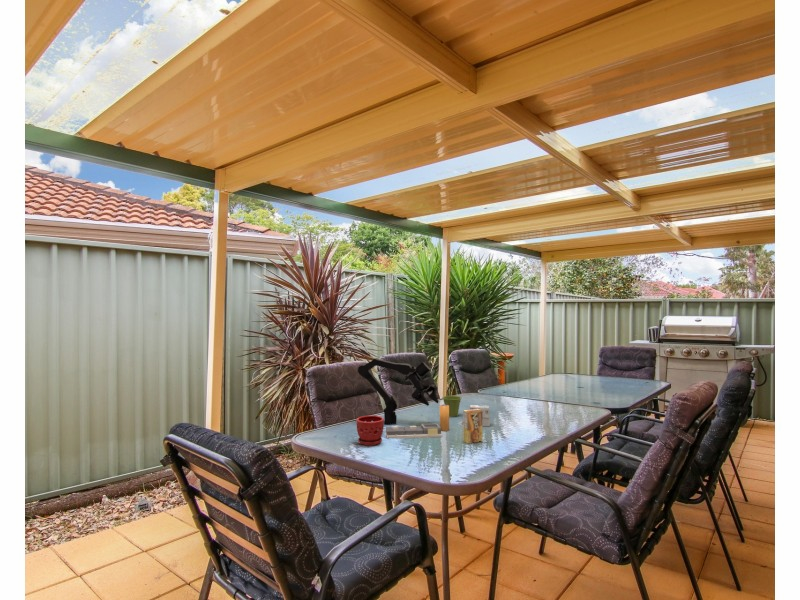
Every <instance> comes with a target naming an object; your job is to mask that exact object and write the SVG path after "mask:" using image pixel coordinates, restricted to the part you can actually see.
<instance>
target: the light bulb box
mask: <svg viewBox="0 0 800 600" xmlns="http://www.w3.org/2000/svg"><path fill="white" fill-rule="evenodd" d="M471 409H480V410H482V427H490V425H491V424H490V423H491V422H490V406H489V404H488V405H485V404H484V405H483V404H482V405H481V404H478V405H477V404H476V405H475V404H470V405H469V410H471Z"/></svg>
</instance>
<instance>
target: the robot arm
mask: <svg viewBox="0 0 800 600" xmlns="http://www.w3.org/2000/svg"><path fill="white" fill-rule="evenodd" d="M376 366H377V367H380V368H381V367H382V368H385V369H388V370H393V371H396V372H398V373H400V374H402V375H404V376H405V378H404V381H405V382H410V383H411V384H412V388H413V389H414V391H412V393H411V394H410V397H411V399H412V400H415V401H418V402H420V403H422V404H424V405H425V406H427V407H428V406H430V404H429V402H428V399H427V398H426V396H425V394H426V395H427V396H428V398H430V399H431V400H432V401H433V402H435V404H439V403H440V402H439V399H438V396H437V390H438V387H437V386H436V385H434V384H435V379H434V378H433V377H432V376H431V377H428V378H427V379H422V378H421V377H425V376H426V375H428V373H430V372H431V371H432V370H431V368H430V366H428V364H426V363H425V362H424V361H422V362H421V363H420V364H419V365H418V366H417V367H416V366H412V365H411V364H410V363H398V362H397V363H396V362H393V361H389V360H385V359H380V358H377V357H376V358H373V359H371V360H370V361H369V362H367V363H364V364H361V365H360V366H358V367H357V373H358V375H359V376H361V377H362V378H363V379H365V380H367V382H368V383H369V384H370V385H371V386H372V387H373V388H374V390H375V391H376V392H377V393H378V395H379V396H380V397H381V398H382V400H383V401H384V404H385V406H386V407H385V408H384V409H383V411H382V412H383V413H384V414H383V419H384V425H397V422H398V421H397V417H398V416H397V414H396V410H398V408H399V407H400V406H399V405H400V402H399V398H397V397H396V395H395V394H392V395H391V394H389V392H388V391H387V390H386V388H385V387H384V386H383V385H382V383H381V382H380V381H379V380H378V379H377V377H375V375H374V374H373V370H372V369H374V368H375V367H376Z"/></svg>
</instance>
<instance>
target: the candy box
mask: <svg viewBox="0 0 800 600" xmlns="http://www.w3.org/2000/svg"><path fill="white" fill-rule="evenodd" d="M462 413H463V414H462V416H463V417H462V422H463V423H462V425H463V426H462V427H463V428H462V434H463V438H462V441H463V442H464V443H466V444H472V442H474V443H480V442H479V441H481V442H483V426H482V410H480V409H471V410H470V409H465V410H463V411H462Z"/></svg>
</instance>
